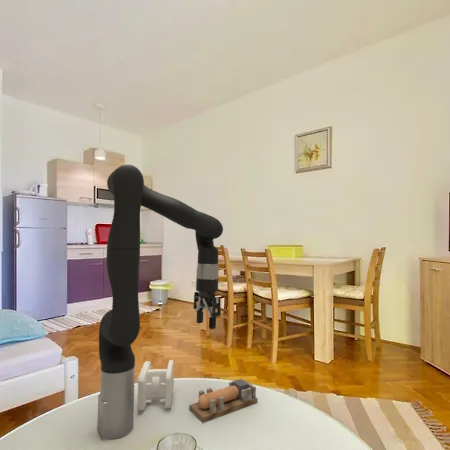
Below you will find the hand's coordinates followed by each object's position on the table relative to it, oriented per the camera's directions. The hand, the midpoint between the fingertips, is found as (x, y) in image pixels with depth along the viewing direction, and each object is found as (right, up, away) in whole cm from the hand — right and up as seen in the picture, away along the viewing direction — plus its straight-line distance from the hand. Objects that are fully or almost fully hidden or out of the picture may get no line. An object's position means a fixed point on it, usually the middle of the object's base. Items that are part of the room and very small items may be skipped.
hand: (205, 325), depth 104 cm
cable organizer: (-16, -25, -1) cm, 30 cm away
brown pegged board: (+6, -25, -3) cm, 26 cm away
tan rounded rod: (+6, -24, -4) cm, 25 cm away
